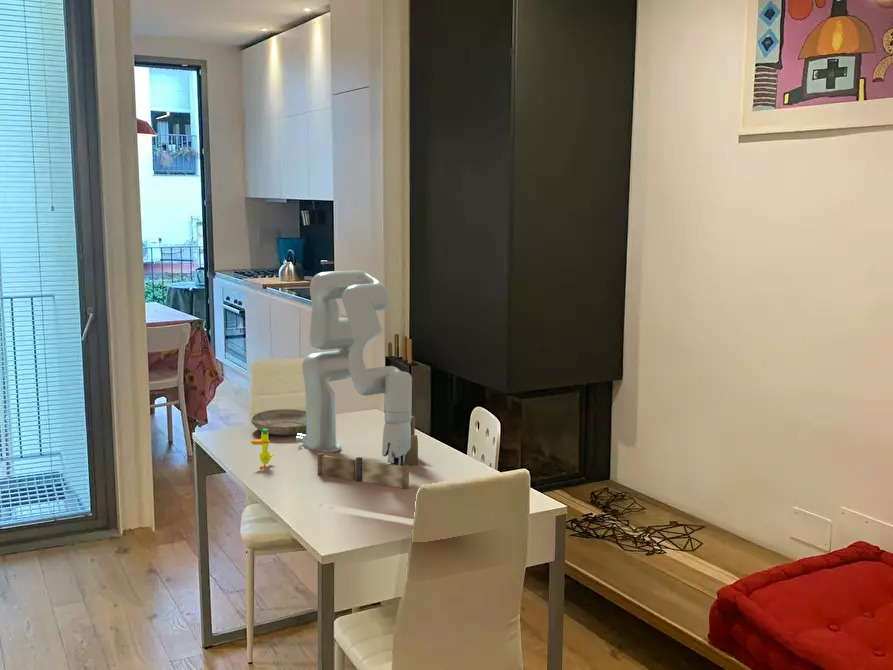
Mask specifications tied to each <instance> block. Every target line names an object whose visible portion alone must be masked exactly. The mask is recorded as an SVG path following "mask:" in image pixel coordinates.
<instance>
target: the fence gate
mask: <svg viewBox="0 0 893 670" xmlns="http://www.w3.org/2000/svg"><path fill="white" fill-rule="evenodd" d="M361 482H363V483H370V484H377V485H382V486H389V487H394V488H395V487H396V488H401V489H403V490H408V489H410V465H403V466H400V465H393V464H391V463H385V462H379V461H372V460H365V459H364V460H362V481H361Z"/></svg>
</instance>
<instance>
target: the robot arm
mask: <svg viewBox="0 0 893 670" xmlns="http://www.w3.org/2000/svg"><path fill="white" fill-rule="evenodd" d="M309 284H310V285H309V294H310V299H311V317H310V325H309V327H310V328H309V343H310V346H311V347H312V348H313V349H315V350H319V352H315V353H314V352H313V353H310V354H308V355H306V356H305V358H304V359H303V361H302V362H301V363H302V364H301V370H302V376H303V381H304V382H303V383H304V390H305V392H304V393H305V395H304V396H305V411H306V432H305V433H301V434H300V433H298V434H296V437H295V440H296V441H298V442H302V444H301V446H300V450H304V449H305V450H310V451H311V450H313V451H318V452H326V453H331V454H332V453H333V454H334V453H337V452H339V451H340V450H341V449H342V448H341V444H340V443H339V442H337V440H336V438H337V435H336V432H337V430H336V429H337V428H336V427H337V425H336V424H337V419H336V418H337V417H336V416H337V415H336V414H337V413H336V411H337V410H336V409H337V407H336V404H337V403H336V402H337V400H336V397H337V396H336V392H335V391H334V389H333V388H332V386H331V385H330V383H331V382H335V381H342V380H347V379H351V381H352V383H353V386H354V389H355V390H356V392H357V393H358V394H359V395H362V396H375V395H380V394H384V427H383V432H382V433H383V434H382V447H381V449H382V450H381V454H382V456H383V457H387V463H388V464H393V465H400V466H403V465H402V464H404V462H405V455H406V454H407V452H408V451H409V450H410V447H411V426H410V422H411V416H412V407H413V406H412V402H413V401H412V400H413V399H412V398H413V396H412V395H413V394H412V393H413V391H412V389H413V384H412V383H413V377H412V374H410V373H409V372H407V371H402V370H401V369H399V368H398V367H396V366H394V365H388V366H386V365H385V366H379V367H369V368H366V365H365V361H364V358H363V357H364V355H363V354H364V349H365V347H366V346H367V345H369V344H370V343H372V342H374V341H375V340H377V339H378V338H379V337H381V335H382V333H383V327H382V325H381V322H380V320H379V315H378V313H377V312H383V311H385V310H387V309H388V308H389V305H390V302H391V299H390V293H389V290H388V289H387V287H386V286H385V285H384V284H383V283H382V282H381V281H379V280H378V279H377V278H376V277H374V276H372V275H371V274H369V272H366V271H364V270H359V269H357V270H354V269H353V270H333V271H322V272H319V273H316V274H315V275H314V276H313V277H312V279H311V281H310V283H309ZM337 300H341V301H342V304H343V308H344V310H345V313H346V317H340V305H339V303H338V301H337ZM339 317H340V318H339ZM335 349H336V350H335ZM327 350H328V351H327ZM329 350H330V351H329ZM394 454H395V455H394Z"/></svg>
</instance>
